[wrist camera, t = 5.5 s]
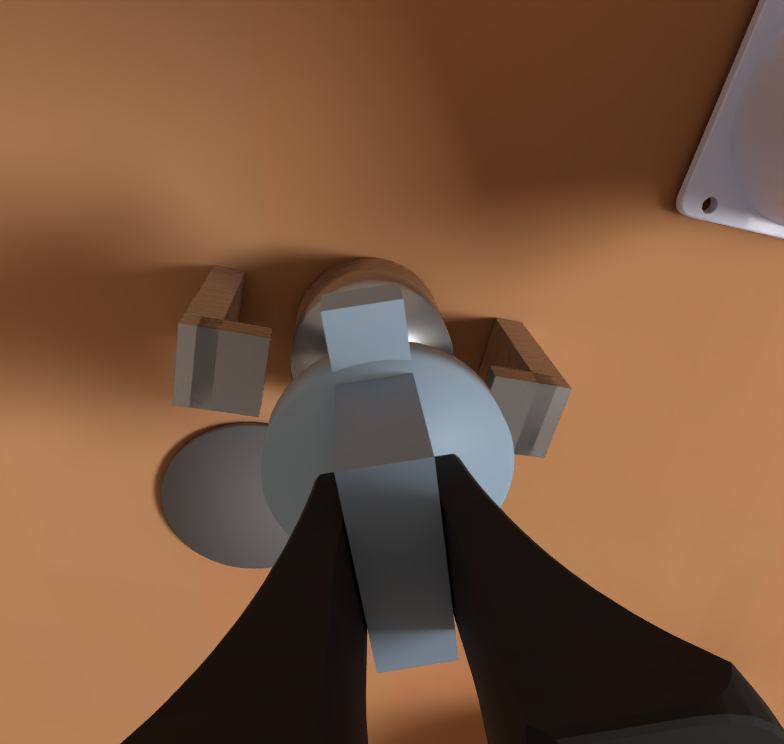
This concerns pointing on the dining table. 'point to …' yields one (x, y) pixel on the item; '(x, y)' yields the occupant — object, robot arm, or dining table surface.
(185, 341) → the metal ball with blocks
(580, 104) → the dining table surface
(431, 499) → the cap
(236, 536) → the pad
